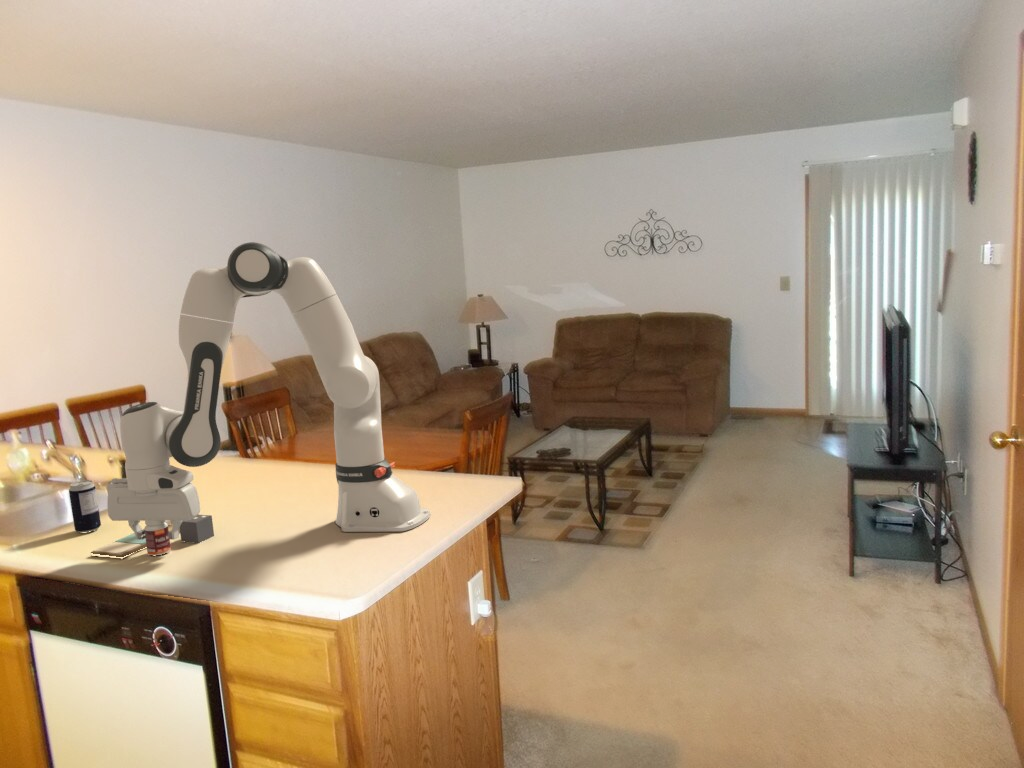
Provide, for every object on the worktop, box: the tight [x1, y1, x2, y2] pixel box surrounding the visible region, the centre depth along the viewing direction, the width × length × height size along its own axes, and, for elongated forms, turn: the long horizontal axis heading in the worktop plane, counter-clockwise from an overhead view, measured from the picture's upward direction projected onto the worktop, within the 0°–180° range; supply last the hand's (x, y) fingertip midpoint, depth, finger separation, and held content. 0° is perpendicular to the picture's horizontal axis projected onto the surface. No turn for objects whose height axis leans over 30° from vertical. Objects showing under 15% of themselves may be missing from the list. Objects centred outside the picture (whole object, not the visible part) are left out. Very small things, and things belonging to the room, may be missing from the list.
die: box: [179, 514, 215, 544], centre depth 182 cm, size 5×5×5 cm
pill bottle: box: [143, 519, 172, 556], centre depth 174 cm, size 5×5×8 cm
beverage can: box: [68, 480, 102, 533], centre depth 192 cm, size 6×6×12 cm
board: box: [90, 520, 180, 557], centre depth 184 cm, size 9×24×1 cm, turn 160°
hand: (157, 538), depth 174 cm, fingers open, 6 cm apart
